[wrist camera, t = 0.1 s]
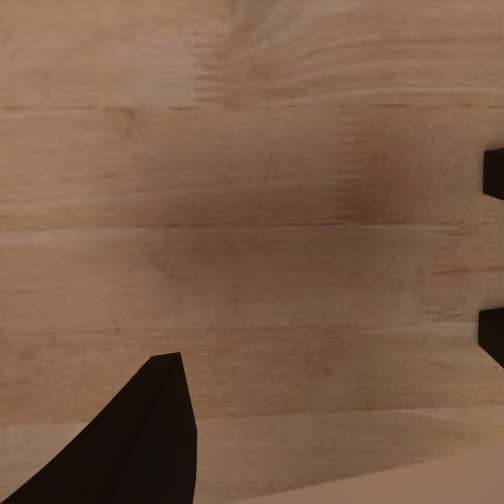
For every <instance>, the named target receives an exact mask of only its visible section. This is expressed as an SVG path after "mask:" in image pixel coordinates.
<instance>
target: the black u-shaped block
mask: <svg viewBox="0 0 504 504" xmlns="http://www.w3.org/2000/svg"><path fill="white" fill-rule="evenodd" d="M483 193H484V194H486V195H489V196H492V197H495V198H498V199H501V200H504V149H500V150H493V151H486V152H485V162H484V192H483ZM479 346H481V347H482V348H483V349H484V350H485V351H486V352H487V353H488V354H489V355H490V356H491V357H492V358H493V359H494V360H495V361H496V362H497V363H499V364H500V365H501V366H502V367H503V368H504V308H503V309H496V310H490V311H483V312H480V319H479Z"/></svg>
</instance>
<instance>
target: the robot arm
mask: <svg viewBox="0 0 504 504" xmlns="http://www.w3.org/2000/svg"><path fill="white" fill-rule="evenodd" d="M196 468H197V427H196V423H195V418H194V413H193V409H192V404H191V399H190V395H189V390H188V386H187V381H186V376H185V372H184V367H183V362H182V358H181V353H180V352H177V353H170V354H164V355H157V356H152V357H151V358H150V359H149V360H148V361H147V362H146V363H145V364H144V365H143V366H142V367H141V368H140V369H139V370H138V371H137V373H136V374H135V375H134V376H133V377H132V378H131V379H130V380H129V381H128V383H127V384H126V385H125V386H124V387H123V388H122V389H121V390H120V391H119V393H118V394H117V395H116V396H115V397H114V398H113V399H112V400H111V401H110V402H109V403H108V404H107V406H106V407H105V408H104V409H103V410H102V411H101V412H100V413H99V414H98V415H97V416H96V417H95V418H94V419H93V420H92V421H91V422H90V423H89V424H88V425H87V426H86V427H85V428H84V429H83V430H82V431H81V432H80V433H79V434H78V435H77V436H76V437H75V438H74V439H73V440H72V441H71V442H70V443H69V444H68V445H67V446H66V447H65V448H64V449H63V450H62V451H61V452H60V453H59V454H58V455H56V456H55V457H54V458H53V459H52V460H51V461H50V462H49V463H48V464H47V465H45V466H44V467H43V468H42V469H41V470H40V471H39V472H38V473H36V474H35V475H34V476H33V477H32V478H31V479H29V480H28V481H27V482H26V483H25V484H23V485H22V486H21V487H20V488H19V489H17V490H16V491H15V492H14V493H13V494H11V495H10V496H9V497H8V498H7V499H5V500H4V501H3V502H2V503H0V504H193V497H194V490H195V482H196Z"/></svg>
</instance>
